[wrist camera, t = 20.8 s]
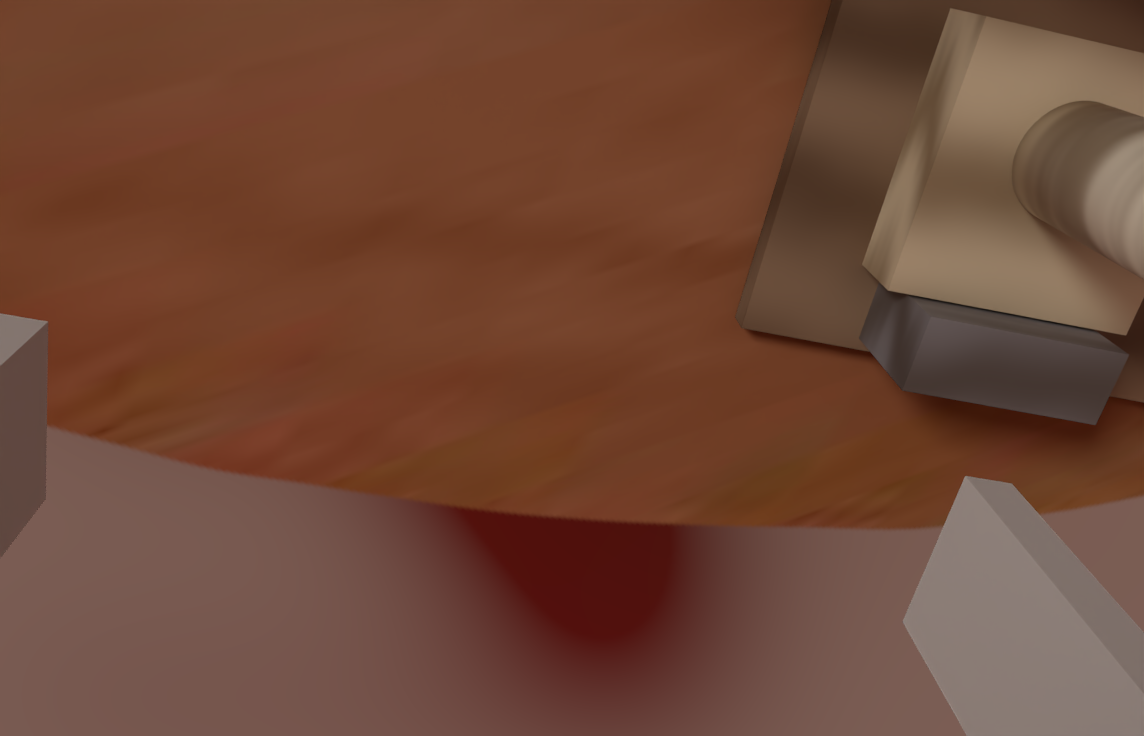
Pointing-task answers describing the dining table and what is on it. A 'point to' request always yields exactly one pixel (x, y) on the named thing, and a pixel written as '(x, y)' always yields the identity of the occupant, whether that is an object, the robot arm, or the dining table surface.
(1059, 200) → the dowel
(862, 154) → the board
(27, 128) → the dining table surface
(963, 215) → the thin beige square tile
